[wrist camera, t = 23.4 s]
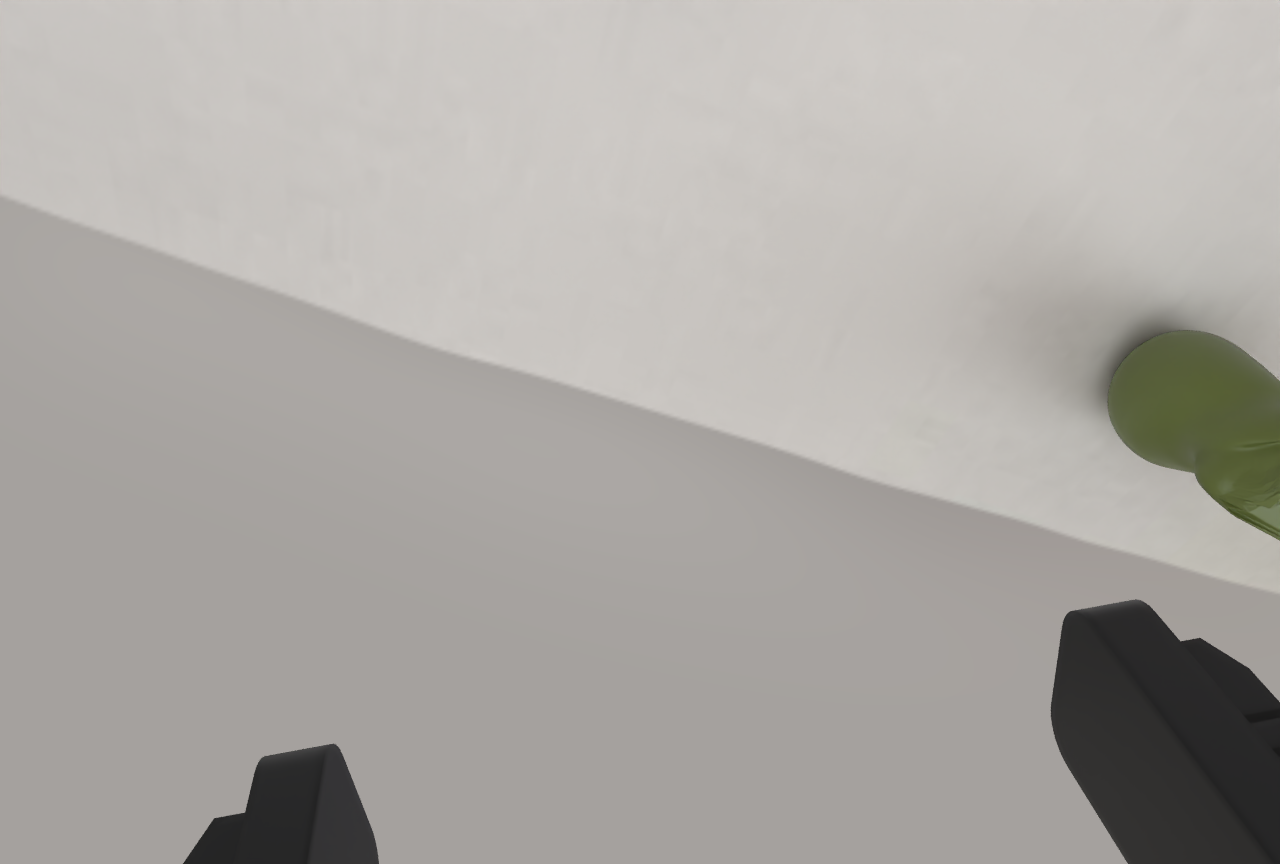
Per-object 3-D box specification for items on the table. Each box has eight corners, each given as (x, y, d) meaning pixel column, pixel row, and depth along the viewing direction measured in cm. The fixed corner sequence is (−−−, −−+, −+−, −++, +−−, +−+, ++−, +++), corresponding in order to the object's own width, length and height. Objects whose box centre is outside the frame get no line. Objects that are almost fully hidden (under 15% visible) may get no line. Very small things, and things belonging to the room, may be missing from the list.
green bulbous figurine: (1243, 347, 41) (1434, 482, 32) (1150, 448, 43) (1306, 599, 35) (1148, 285, 39) (1323, 410, 31) (1056, 393, 41) (1195, 538, 33)
